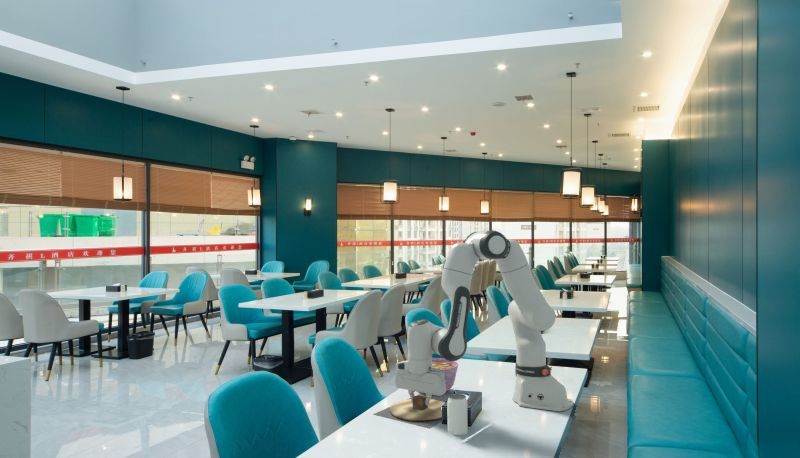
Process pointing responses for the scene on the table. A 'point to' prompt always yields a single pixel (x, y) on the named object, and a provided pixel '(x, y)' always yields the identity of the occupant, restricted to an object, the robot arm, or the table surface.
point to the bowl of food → (446, 370)
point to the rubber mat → (425, 424)
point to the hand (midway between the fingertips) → (420, 403)
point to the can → (457, 414)
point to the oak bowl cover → (417, 409)
